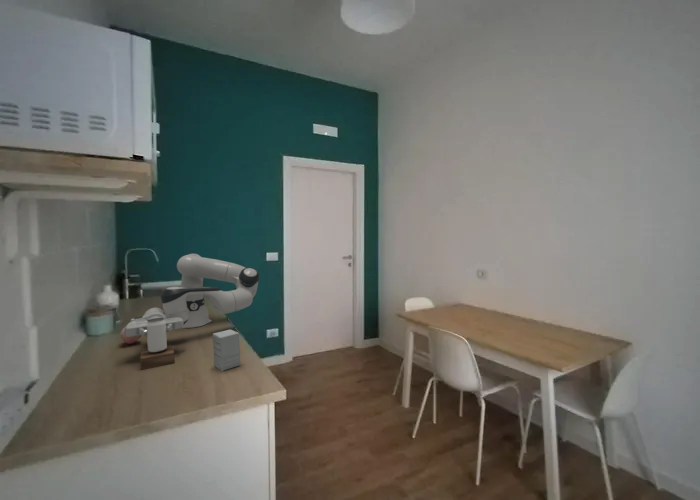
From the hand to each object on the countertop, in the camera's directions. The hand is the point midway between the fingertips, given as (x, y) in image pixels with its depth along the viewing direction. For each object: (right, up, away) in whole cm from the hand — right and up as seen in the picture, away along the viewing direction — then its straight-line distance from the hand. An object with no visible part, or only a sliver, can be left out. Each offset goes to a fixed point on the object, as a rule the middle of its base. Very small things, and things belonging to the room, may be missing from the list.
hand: (156, 331), depth 129 cm
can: (0, -8, +1) cm, 8 cm away
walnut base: (0, -12, +1) cm, 12 cm away
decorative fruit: (-24, -12, +23) cm, 35 cm away
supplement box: (+29, -12, -4) cm, 32 cm away
